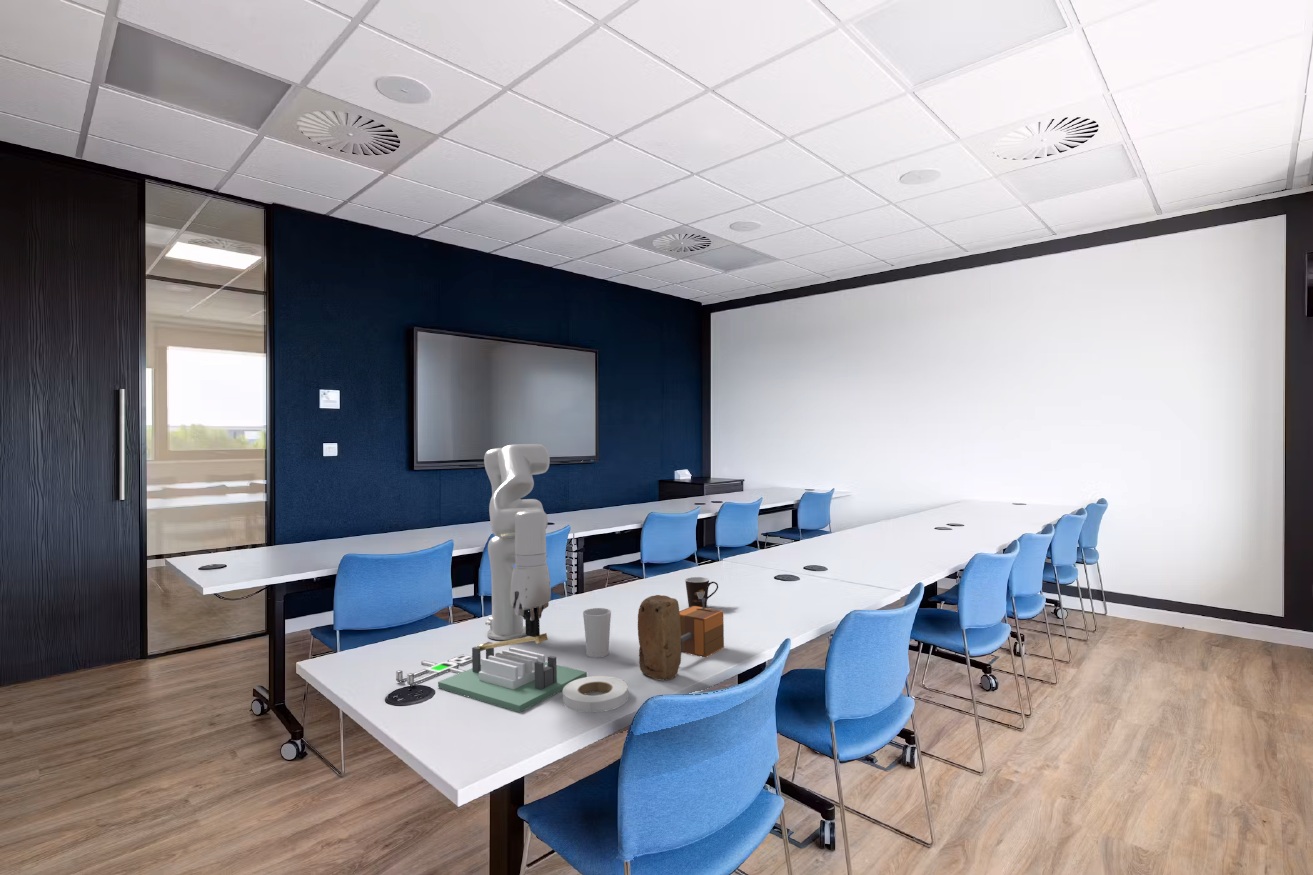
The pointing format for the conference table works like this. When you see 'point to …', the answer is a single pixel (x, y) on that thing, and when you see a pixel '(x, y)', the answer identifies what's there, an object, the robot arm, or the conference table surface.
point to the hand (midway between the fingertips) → (532, 635)
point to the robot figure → (435, 669)
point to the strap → (514, 641)
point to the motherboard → (511, 678)
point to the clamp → (701, 630)
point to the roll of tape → (593, 703)
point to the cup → (597, 631)
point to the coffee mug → (698, 590)
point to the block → (659, 637)
